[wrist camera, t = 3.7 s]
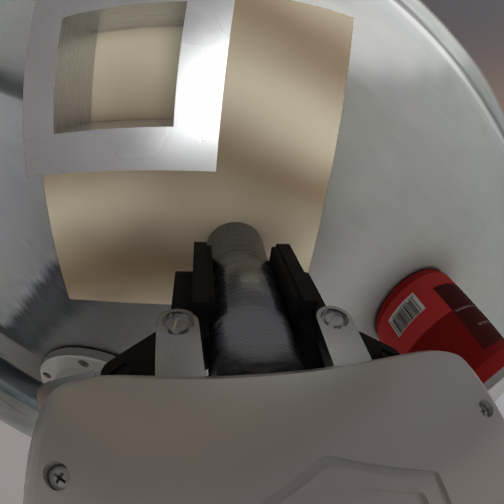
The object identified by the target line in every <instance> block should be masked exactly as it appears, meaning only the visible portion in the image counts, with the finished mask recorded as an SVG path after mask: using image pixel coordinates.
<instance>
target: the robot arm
mask: <svg viewBox="0 0 504 504" xmlns="http://www.w3.org/2000/svg"><path fill="white" fill-rule="evenodd" d="M269 263H270V266H271V269H272V272H273V275H274V278H275V281H276V284H277V287H278V290H279V293H280V296H281V299H282V302H283V305H284V308H285V311H286V314H287V317H288V320H289V323H290V326H291V329H292V332H293V336H294V339H295V342H296V345H297V348H298V351H299V354H300V357H301V360H302V364H303V367H304V370H300V371H290V372H279V373H267V374H252V375H232V376H206V374H205V370H206V369H208V348H209V328H210V326H211V324H212V323H213V321H214V320H215V288H214V275H213V260H212V245H207V242H194V254H193V271H176V272H175V278H174V287H173V296H172V305H171V310H168V311H165V312H164V313H162V314H161V315H160V316H159V318H158V319H157V323H156V332H155V333H153V334H151V335H150V336H148V337H147V338H145V339H144V340H142V341H140V342H139V343H137V344H136V345H134V346H132V347H131V348H129V349H128V350H126V351H124V352H123V353H121V354H120V355H118V356H114V355H111V354H109V353H105V352H101V351H97V350H93V349H86V348H72V347H68V348H61V349H57V350H54V351H52V352H50V353H49V354H48V355H47V356H45V358H44V360H43V363H42V365H41V368H40V376H41V380H42V382H43V384H42V385H41V386H40V387H39V389H38V391H37V398H36V399H37V405H38V411H39V416H38V418H37V421H36V425H35V428H34V431H33V435H32V440H31V444H30V449H29V455H28V460H27V467H26V476H25V486H24V499H23V504H504V419H503V417H502V415H501V413H500V412H499V410H498V408H497V406H496V404H495V403H494V401H493V399H492V397H491V396H490V394H489V393H488V391H487V389H486V388H485V386H484V385H483V383H482V382H481V380H480V379H479V377H478V376H477V375H476V373H475V372H474V371H473V369H472V368H471V367H470V366H469V365H468V363H467V362H466V361H465V360H464V359H463V358H462V357H460V356H459V355H457V354H454V353H451V352H445V351H438V350H428V351H419V352H413V353H407V354H404V353H403V354H402V355H401V354H400V353H399V352H398V351H397V350H396V349H394V348H393V347H391V346H389V345H386V344H384V343H382V342H380V341H378V340H376V339H374V338H372V337H369V336H367V335H365V334H363V333H361V332H359V331H358V330H357V327H356V325H355V323H354V321H353V319H352V317H351V316H350V315H349V313H347V312H346V311H345V310H343V309H341V308H339V307H335V306H326V305H325V303H324V301H323V300H322V298H321V296H320V294H319V292H318V290H317V288H316V286H315V284H314V283H313V281H312V279H311V277H310V275H309V274H308V273H307V272H304V270H303V268H302V266H301V265H300V263H299V261H298V259H297V257H296V255H295V253H294V251H293V250H292V248H291V246H290V244H276V246H275V247H272V248H271V253H270V259H269Z"/></svg>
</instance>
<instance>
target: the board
mask: <svg viewBox="0 0 504 504" xmlns="http://www.w3.org/2000/svg"><path fill="white" fill-rule="evenodd" d="M353 20H354V18H353V17H350V16H347V15H344V14H341V13H338V12H335V11H331V10H328V9H324V8H321V7H317V6H313V5H309V4H305V3H301V2H296V1H291V0H235V4H234V10H233V17H232V24H231V31H230V39H229V46H228V54H227V62H226V71H225V80H224V89H223V98H222V108H221V118H220V129H219V140H218V152H217V164H216V172H211V171H177V170H132V171H99V172H79V173H64V174H52V175H43V180H44V188H45V195H46V202H47V208H48V214H49V220H50V225H51V230H52V235H53V239H54V244H55V248H56V253H57V257H58V261H59V264H60V268H61V272H62V276H63V279H64V282H65V286H66V289H67V292H68V296H69V299H78V300H91V301H107V302H124V303H145V304H172V296H173V287H174V278H175V272H176V271H193V254H194V242H207V240H208V238H209V236H210V234H211V233H212V232H213V231H214V230H215V229H216V228H218V227H219V226H221V225H223V224H226V223H230V222H241V223H245V224H248V225H250V226H252V227H253V228H254V229H255V230H256V231H257V232H258V233H259V235H260V236H261V239H262V242H263V245H264V248H265V251H266V254H267V257H268V260H269V259H270V253H271V248H272V247H275V246H276V244H290V246H291V248H292V250H293V251H294V253H295V255H296V257H297V259H298V261H299V263H300V265H301V266H302V268H303V270H304V272H307V273H308V271H309V267H310V263H311V259H312V255H313V251H314V247H315V242H316V238H317V234H318V230H319V225H320V221H321V217H322V212H323V208H324V203H325V198H326V194H327V189H328V184H329V179H330V174H331V169H332V164H333V159H334V153H335V148H336V143H337V137H338V131H339V125H340V119H341V113H342V107H343V101H344V94H345V87H346V80H347V73H348V65H349V57H350V49H351V40H352V30H353ZM182 33H183V26H169V27H148V28H136V29H126V30H118V31H110V32H104V33H98V36H97V43H96V51H95V60H94V71H93V84H92V104H91V122H97V121H110V120H126V119H153V118H174V111H175V97H176V86H177V75H178V66H179V57H180V48H181V41H182Z"/></svg>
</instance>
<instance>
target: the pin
mask: <svg viewBox="0 0 504 504" xmlns="http://www.w3.org/2000/svg"><path fill="white" fill-rule="evenodd" d="M207 245H212V260H213V275H214V288H215V320H214V321H213V323H212V324H211V326H210V328H209V348H208V372H209V376H232V375H252V374H267V373H279V372H290V371H300V370H304V367H303V364H302V360H301V357H300V354H299V351H298V348H297V345H296V342H295V339H294V336H293V332H292V329H291V326H290V323H289V320H288V317H287V314H286V311H285V308H284V305H283V302H282V299H281V296H280V293H279V290H278V287H277V284H276V281H275V278H274V275H273V272H272V269H271V266H270V263H269V260H268V257H267V254H266V251H265V248H264V245H263V242H262V239H261V236H260V235H259V233H258V232H257V231H256V230H255V229H254V228H253V227H252V226H250V225H248V224H245V223H241V222H230V223H226V224H223V225H221V226H219V227H218V228H216V229H215V230H214V231H213V232H212V233H211V234H210V236H209V238H208V240H207Z"/></svg>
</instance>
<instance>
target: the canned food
mask: <svg viewBox="0 0 504 504" xmlns="http://www.w3.org/2000/svg"><path fill="white" fill-rule="evenodd" d="M376 329H377V334H378V338H379V340H380V342H382V343H384V344H386V345H389V346H391V347H393V348H394V349H396V350H397V351H398V352H399V353H400V354H401V355H402V354H403V353H404V354H407V353H413V352H419V351H428V350H438V351H445V352H451V353H454V354H457V355H459V356H460V357H462V358H463V359H464V360H465V361H466V362H467V363H468V365H469V366H470V367H471V368H472V369H473V371H474V372H475V373H476V375H477V376H478V377H479V379H480V380H481V382H482V383H483V385H484V386H485V388H486V389H487V391H488V393H489V394H490V396H491V397H492V399H493V401H494V402H495V401H496V400H497V399H498V398H499V397H500V396H501V395H502V394H503V393H504V338H503V337H502V336H501V335H500V333H499V332H498V331H497V330H496V328H495V327H494V326H493V325H492V324H491V323H490V321H489V320H488V319H487V318H486V317H485V316H484V314H483V313H482V312H481V311H480V310H479V309H478V308H477V307H476V305H475V304H474V303H473V302H472V301H471V300H470V299H469V298H468V297H467V296H466V295H465V293H464V292H463V291H462V290H461V289H460V288H459V287H458V286H457V285H456V284H455V283H454V282H453V281H452V280H451V279H450V278H449V277H448V276H447V275H446V274H444V273H442V272H440V271H437V270H435V269H426V270H422V271H419V272H416V273H415V274H413V275H411V276H409V277H408V278H406V279H405V280H404V281H402V282H401V283H400V284H399V285H398V286H397V287H396V288H395V289H394V290H393V291H392V292H391V293H390V294H389V296H388V297H387V298H386V300H385V301H384V303H383V305H382V306H381V308H380V310H379V313H378V316H377V320H376Z"/></svg>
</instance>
